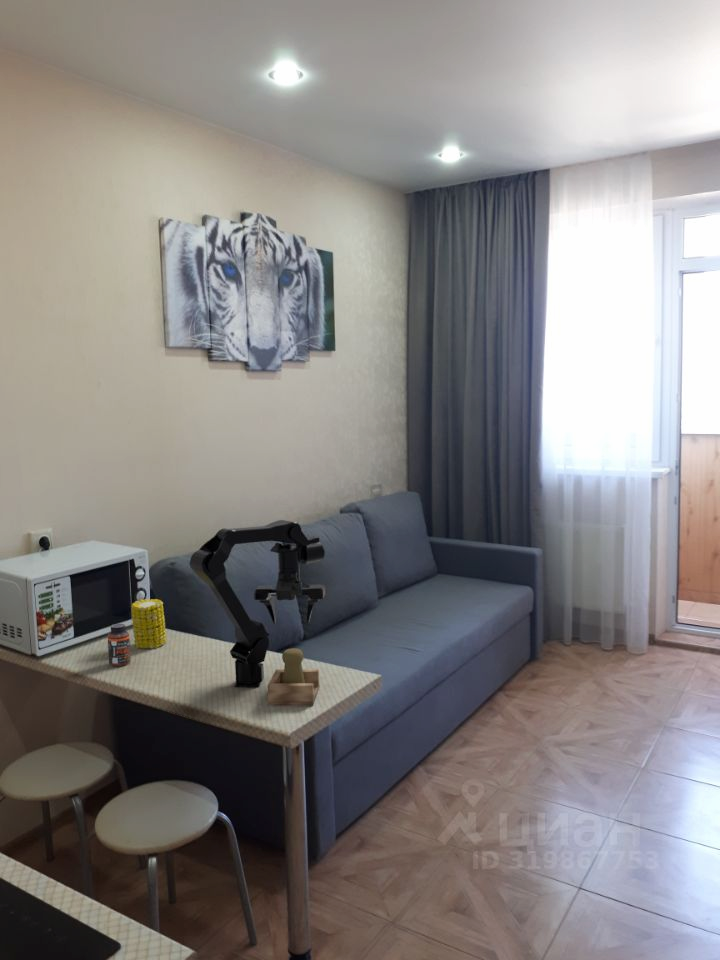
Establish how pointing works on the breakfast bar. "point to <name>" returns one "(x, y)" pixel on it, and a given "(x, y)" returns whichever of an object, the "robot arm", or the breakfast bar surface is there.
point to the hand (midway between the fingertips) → (291, 623)
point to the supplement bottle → (119, 646)
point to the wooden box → (293, 689)
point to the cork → (293, 666)
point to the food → (148, 623)
